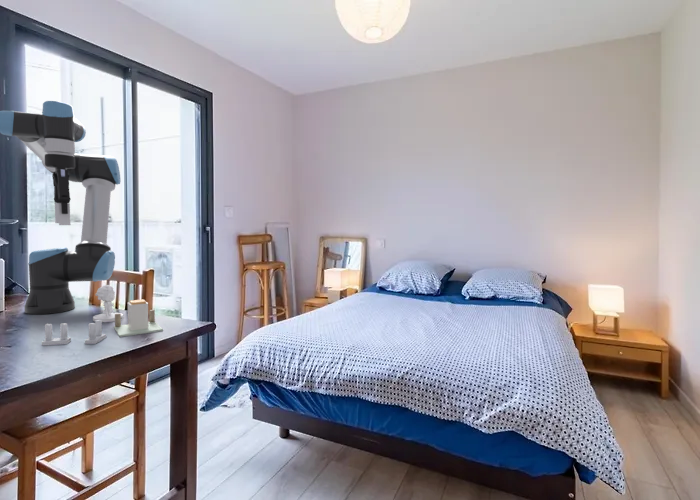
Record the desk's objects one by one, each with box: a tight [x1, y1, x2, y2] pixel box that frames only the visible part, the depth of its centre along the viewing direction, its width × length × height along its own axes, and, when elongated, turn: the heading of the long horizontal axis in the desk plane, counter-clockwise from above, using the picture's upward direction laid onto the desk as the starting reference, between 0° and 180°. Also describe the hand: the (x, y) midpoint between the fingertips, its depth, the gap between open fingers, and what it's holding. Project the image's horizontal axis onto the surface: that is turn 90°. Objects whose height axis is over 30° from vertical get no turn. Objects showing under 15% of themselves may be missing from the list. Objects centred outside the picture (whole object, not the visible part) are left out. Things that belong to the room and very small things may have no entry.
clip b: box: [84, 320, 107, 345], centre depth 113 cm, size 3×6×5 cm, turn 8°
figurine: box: [92, 284, 125, 323], centre depth 137 cm, size 9×9×12 cm
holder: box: [113, 309, 164, 338], centre depth 125 cm, size 12×12×5 cm
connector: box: [127, 299, 149, 330], centre depth 125 cm, size 5×5×9 cm
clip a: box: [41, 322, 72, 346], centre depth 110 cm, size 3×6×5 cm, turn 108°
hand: (62, 224), depth 122 cm, fingers open, 13 cm apart
